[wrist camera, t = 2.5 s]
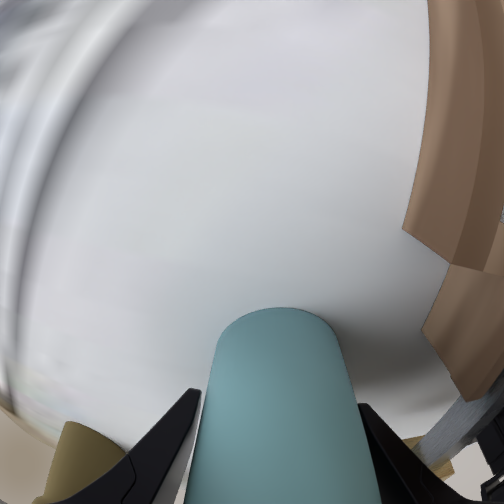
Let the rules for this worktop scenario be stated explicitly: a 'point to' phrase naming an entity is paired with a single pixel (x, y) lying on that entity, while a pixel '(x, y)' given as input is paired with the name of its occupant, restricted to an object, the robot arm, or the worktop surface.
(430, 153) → the dock
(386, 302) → the worktop surface
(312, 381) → the peg
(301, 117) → the worktop surface
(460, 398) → the lock bolt
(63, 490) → the cork
